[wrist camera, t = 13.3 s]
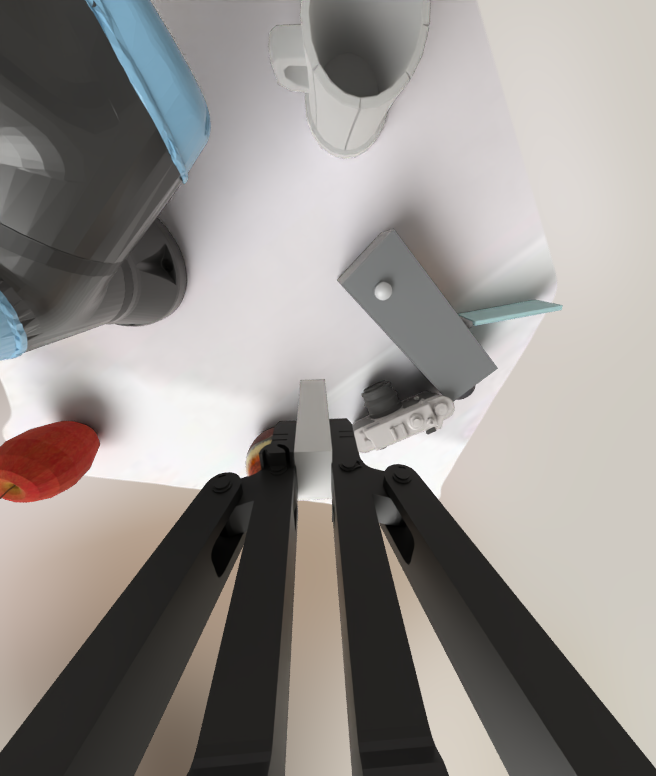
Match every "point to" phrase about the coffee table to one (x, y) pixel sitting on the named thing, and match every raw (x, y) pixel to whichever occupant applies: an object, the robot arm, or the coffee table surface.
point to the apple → (46, 460)
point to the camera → (398, 416)
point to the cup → (349, 65)
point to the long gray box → (416, 316)
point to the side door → (507, 312)
